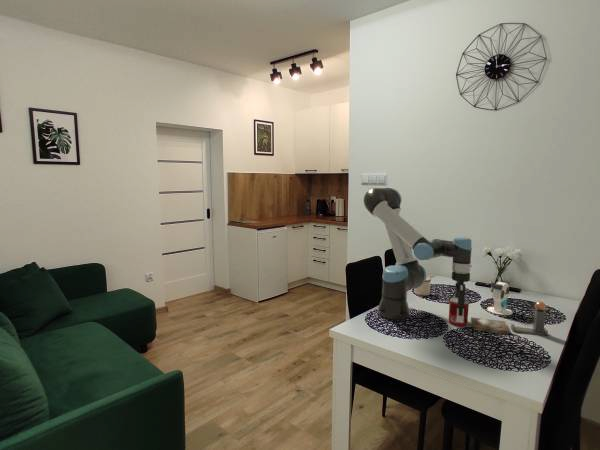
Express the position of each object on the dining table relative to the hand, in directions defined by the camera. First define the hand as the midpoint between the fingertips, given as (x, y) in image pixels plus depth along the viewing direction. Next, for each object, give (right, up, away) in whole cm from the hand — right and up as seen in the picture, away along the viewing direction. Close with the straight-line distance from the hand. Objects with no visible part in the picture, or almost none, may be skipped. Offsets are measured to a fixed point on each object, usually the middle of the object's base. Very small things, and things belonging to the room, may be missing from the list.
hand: (458, 317), depth 169 cm
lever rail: (+27, -4, -9) cm, 28 cm away
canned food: (0, -3, +1) cm, 3 cm away
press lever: (+30, -3, -10) cm, 32 cm away
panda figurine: (+28, -2, +17) cm, 33 cm away
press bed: (+12, -4, -4) cm, 13 cm away
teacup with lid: (-3, +2, +47) cm, 47 cm away
